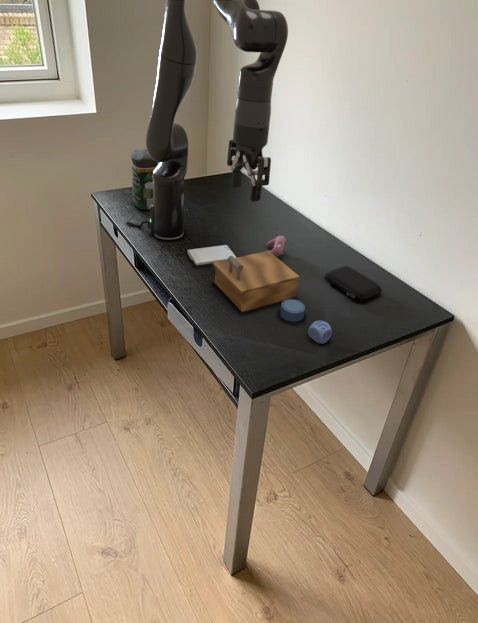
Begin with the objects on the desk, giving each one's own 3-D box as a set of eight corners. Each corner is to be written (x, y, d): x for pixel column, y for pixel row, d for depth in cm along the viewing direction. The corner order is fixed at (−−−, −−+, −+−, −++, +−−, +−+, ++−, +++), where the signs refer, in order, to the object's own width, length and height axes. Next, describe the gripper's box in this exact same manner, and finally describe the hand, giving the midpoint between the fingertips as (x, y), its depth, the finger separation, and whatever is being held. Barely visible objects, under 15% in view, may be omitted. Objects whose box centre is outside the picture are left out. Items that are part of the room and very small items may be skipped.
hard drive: (226, 244, 147) (187, 248, 142) (236, 257, 141) (196, 262, 136) (226, 249, 147) (187, 253, 143) (236, 262, 142) (196, 267, 137)
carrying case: (318, 280, 137) (357, 306, 128) (320, 271, 135) (360, 297, 126) (344, 271, 142) (383, 295, 133) (346, 262, 141) (386, 286, 132)
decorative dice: (317, 331, 118) (320, 318, 115) (330, 340, 115) (333, 326, 113) (306, 337, 115) (309, 324, 113) (319, 346, 113) (322, 332, 111)
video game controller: (273, 267, 144) (286, 251, 140) (260, 259, 143) (273, 242, 139) (277, 252, 152) (290, 236, 148) (265, 244, 151) (278, 227, 147)
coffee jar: (130, 201, 170) (127, 148, 159) (151, 198, 173) (150, 146, 162) (139, 212, 163) (137, 158, 152) (161, 209, 166) (160, 156, 155)
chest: (241, 314, 121) (244, 293, 117) (214, 285, 131) (215, 264, 127) (295, 299, 128) (298, 279, 125) (265, 272, 138) (268, 253, 134)
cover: (241, 294, 117) (243, 276, 114) (212, 265, 127) (213, 248, 124) (299, 278, 125) (302, 262, 122) (268, 253, 134) (270, 236, 131)
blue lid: (277, 321, 120) (279, 309, 118) (281, 307, 125) (283, 296, 122) (301, 326, 119) (303, 314, 117) (304, 312, 124) (306, 301, 122)
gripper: (220, 112, 105) (216, 184, 114) (254, 131, 95) (247, 208, 105) (249, 111, 108) (243, 180, 118) (285, 129, 99) (275, 203, 108)
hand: (245, 193), depth 111 cm, fingers open, 8 cm apart
